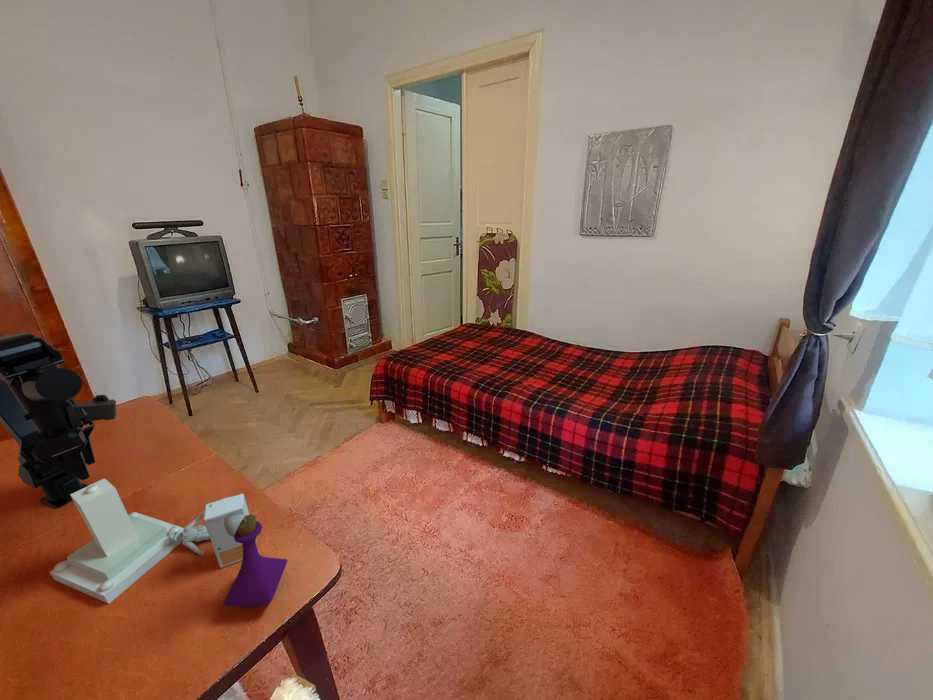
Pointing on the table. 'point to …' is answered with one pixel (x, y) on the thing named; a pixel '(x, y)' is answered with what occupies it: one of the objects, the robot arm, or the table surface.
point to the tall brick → (105, 516)
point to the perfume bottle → (252, 565)
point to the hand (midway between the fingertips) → (89, 470)
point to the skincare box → (214, 521)
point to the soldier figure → (191, 535)
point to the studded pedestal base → (117, 560)
